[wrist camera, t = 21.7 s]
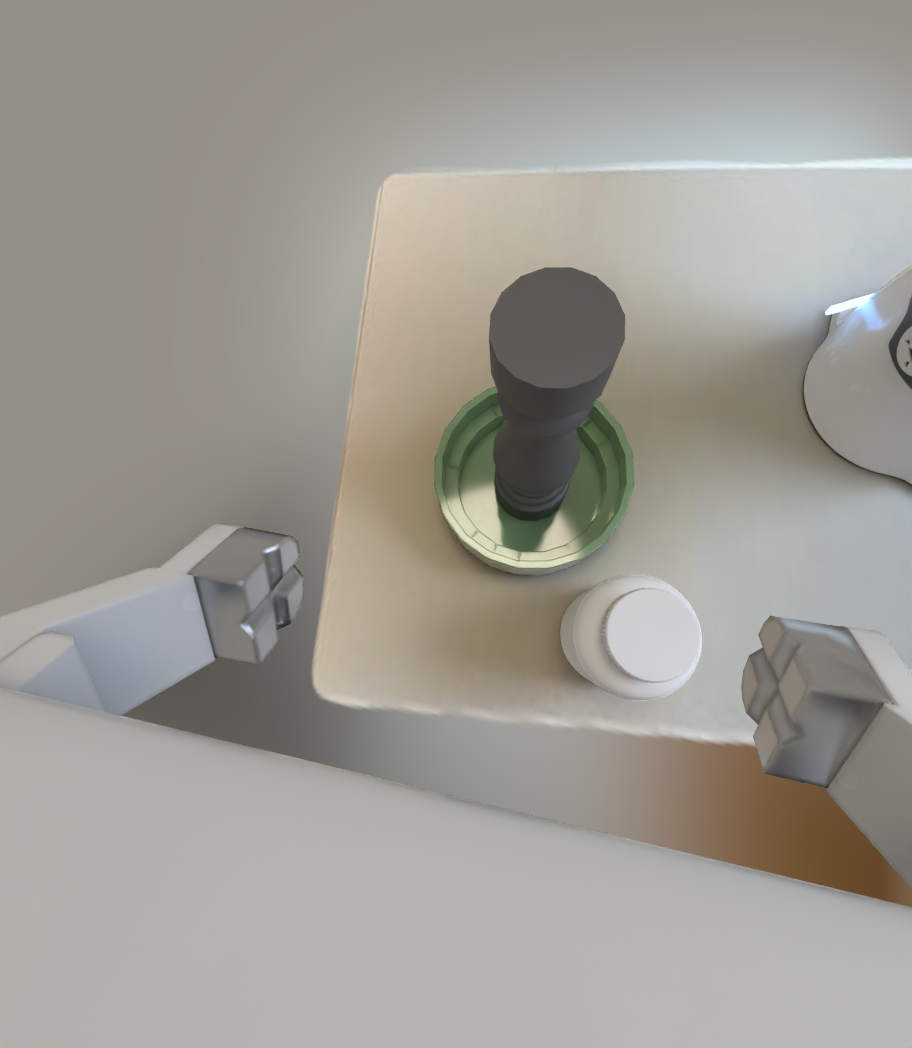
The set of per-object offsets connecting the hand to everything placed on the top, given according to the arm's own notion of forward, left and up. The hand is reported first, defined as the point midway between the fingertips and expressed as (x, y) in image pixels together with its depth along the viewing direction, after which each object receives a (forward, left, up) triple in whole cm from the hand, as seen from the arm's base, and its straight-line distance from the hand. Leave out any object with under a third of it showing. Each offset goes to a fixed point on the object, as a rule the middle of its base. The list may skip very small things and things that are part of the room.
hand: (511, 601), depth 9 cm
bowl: (-6, -11, -37) cm, 39 cm away
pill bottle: (-8, +3, -37) cm, 38 cm away
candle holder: (-6, -11, -36) cm, 38 cm away
